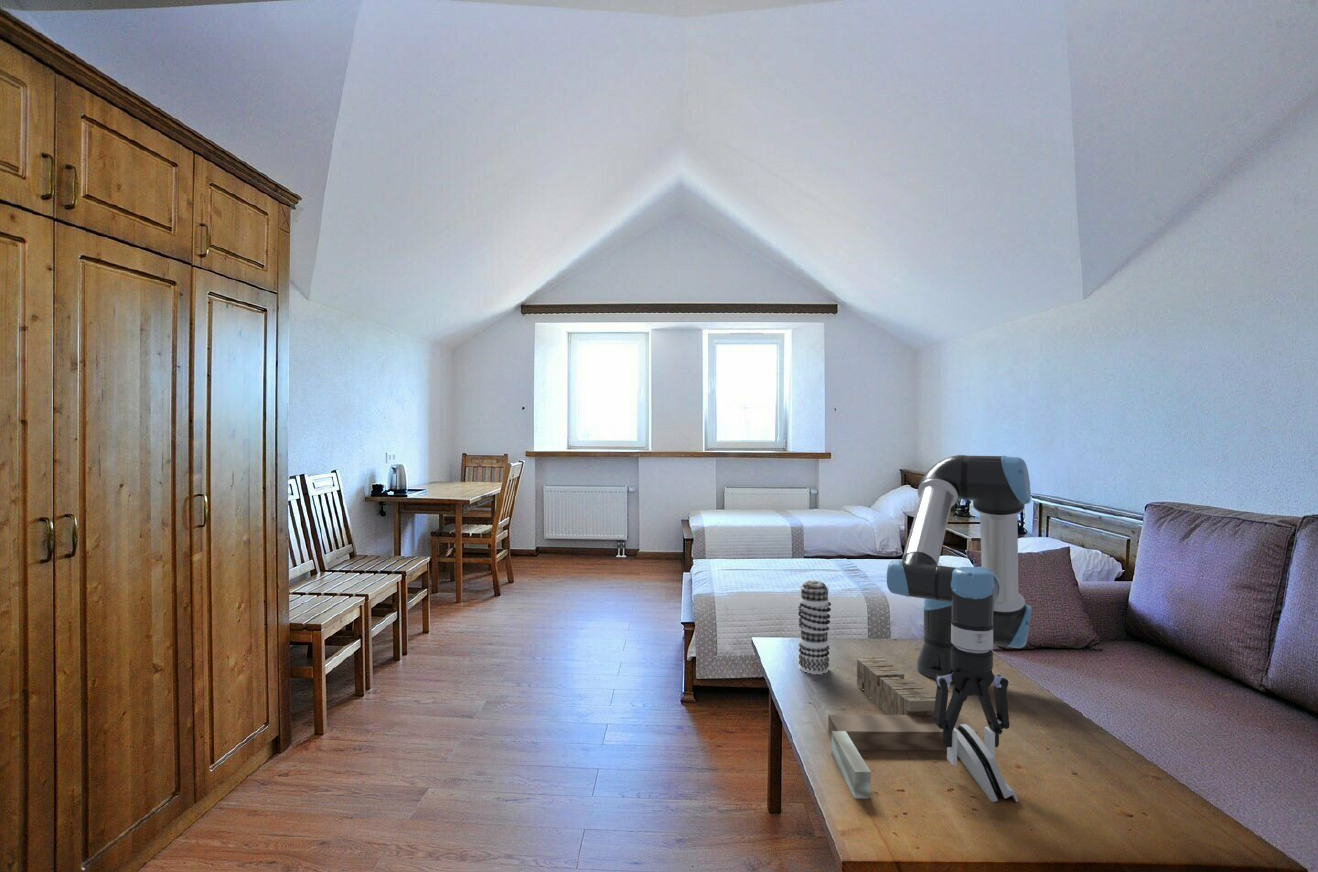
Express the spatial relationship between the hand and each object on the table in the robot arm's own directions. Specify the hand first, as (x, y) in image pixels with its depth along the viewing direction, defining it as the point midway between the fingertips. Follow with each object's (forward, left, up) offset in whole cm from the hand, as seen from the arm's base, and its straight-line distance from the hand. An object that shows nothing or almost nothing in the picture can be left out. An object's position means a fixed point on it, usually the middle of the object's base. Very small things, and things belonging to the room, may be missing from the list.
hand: (970, 762), depth 126 cm
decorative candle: (+17, -57, -3) cm, 59 cm away
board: (+9, -6, -3) cm, 11 cm away
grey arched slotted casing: (-2, 0, -3) cm, 4 cm away
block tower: (+3, -32, -4) cm, 33 cm away
